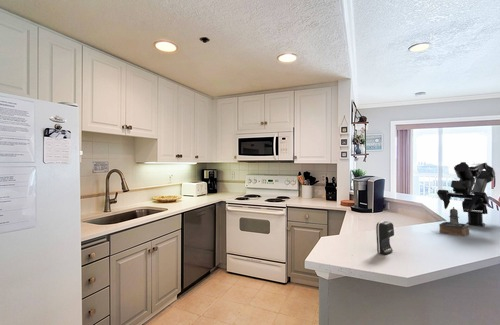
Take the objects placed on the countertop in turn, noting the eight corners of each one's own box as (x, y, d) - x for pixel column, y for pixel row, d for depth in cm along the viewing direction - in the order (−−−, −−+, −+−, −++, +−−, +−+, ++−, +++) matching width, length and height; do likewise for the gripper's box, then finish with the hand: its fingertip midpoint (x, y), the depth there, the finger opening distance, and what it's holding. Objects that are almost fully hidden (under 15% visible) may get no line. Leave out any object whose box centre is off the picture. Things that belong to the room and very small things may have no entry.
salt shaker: (466, 234, 112) (465, 207, 112) (453, 234, 112) (452, 208, 112) (455, 230, 118) (454, 205, 118) (443, 230, 118) (442, 206, 118)
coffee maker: (387, 256, 87) (386, 224, 88) (376, 253, 90) (375, 222, 91) (396, 251, 91) (394, 221, 92) (385, 249, 95) (384, 219, 95)
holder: (445, 229, 121) (445, 221, 121) (469, 232, 114) (468, 224, 114) (439, 232, 116) (439, 224, 116) (464, 236, 108) (464, 227, 108)
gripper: (437, 174, 128) (428, 197, 122) (485, 174, 111) (476, 201, 106) (445, 188, 131) (436, 211, 126) (492, 190, 115) (484, 216, 110)
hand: (456, 209), depth 117 cm, fingers open, 9 cm apart
